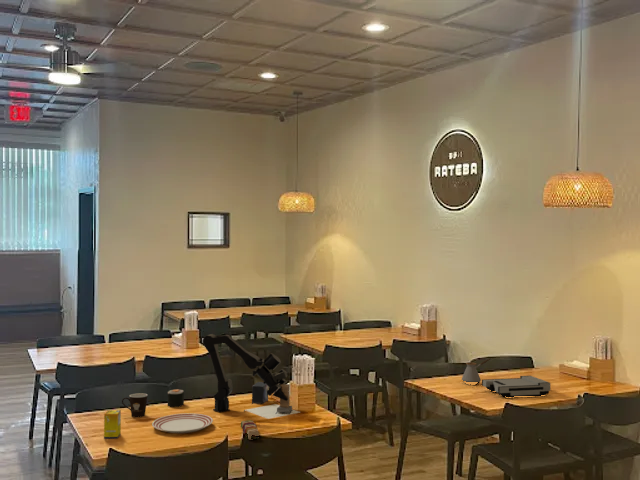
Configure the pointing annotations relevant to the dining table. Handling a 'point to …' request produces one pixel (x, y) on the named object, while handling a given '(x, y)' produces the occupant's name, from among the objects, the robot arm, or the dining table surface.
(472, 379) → the coffee pot
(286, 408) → the block
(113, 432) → the supplement box
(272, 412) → the board
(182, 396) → the sushi
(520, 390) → the game console
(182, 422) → the dinner plate
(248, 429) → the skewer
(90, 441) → the dining table surface
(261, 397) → the small box
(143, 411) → the coffee mug
